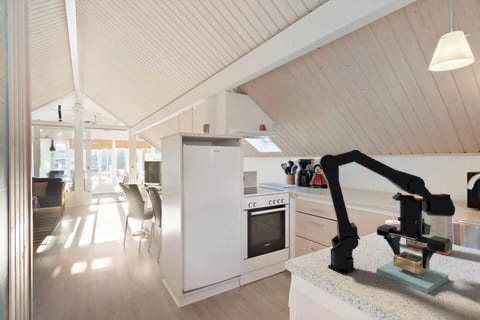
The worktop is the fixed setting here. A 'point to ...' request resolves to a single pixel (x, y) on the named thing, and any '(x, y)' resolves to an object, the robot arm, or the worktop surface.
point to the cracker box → (435, 229)
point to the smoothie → (393, 223)
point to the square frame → (409, 262)
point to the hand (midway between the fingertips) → (411, 263)
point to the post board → (414, 276)
